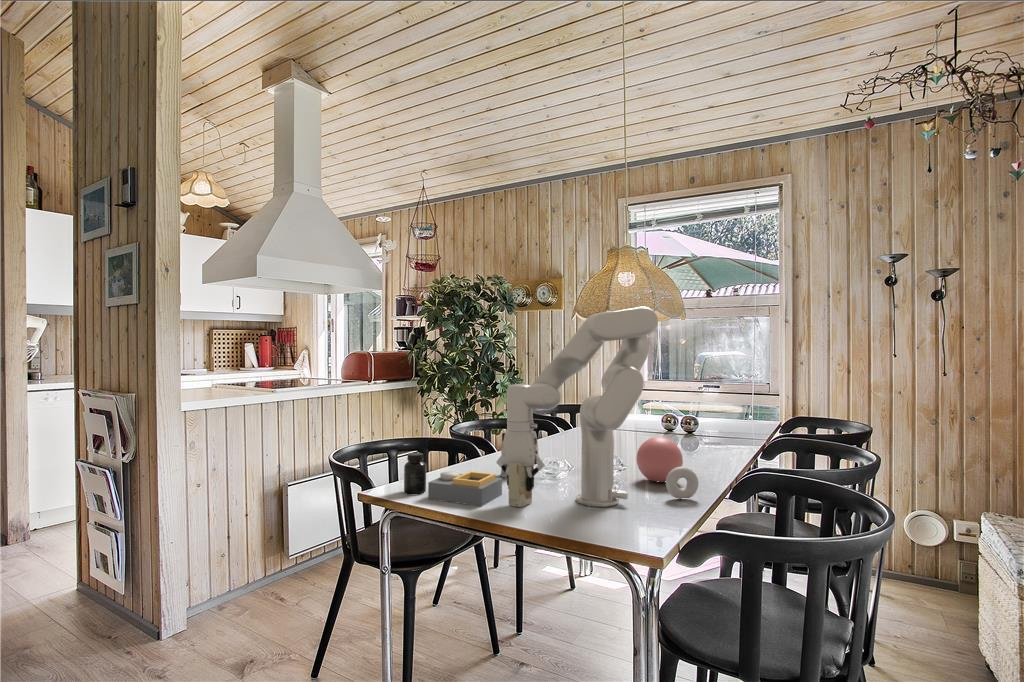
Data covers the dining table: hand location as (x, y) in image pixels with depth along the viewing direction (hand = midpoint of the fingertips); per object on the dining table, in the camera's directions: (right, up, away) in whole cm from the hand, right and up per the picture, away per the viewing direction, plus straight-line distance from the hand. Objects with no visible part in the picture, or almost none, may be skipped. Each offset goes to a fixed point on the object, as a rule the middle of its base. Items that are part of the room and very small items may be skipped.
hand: (520, 488), depth 158 cm
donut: (+49, -5, +7) cm, 50 cm away
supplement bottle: (-33, -5, +13) cm, 36 cm away
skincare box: (0, -5, 0) cm, 5 cm away
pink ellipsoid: (+49, -6, +31) cm, 58 cm away
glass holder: (-3, -5, +34) cm, 34 cm away
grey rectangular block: (-17, -5, +8) cm, 19 cm away
